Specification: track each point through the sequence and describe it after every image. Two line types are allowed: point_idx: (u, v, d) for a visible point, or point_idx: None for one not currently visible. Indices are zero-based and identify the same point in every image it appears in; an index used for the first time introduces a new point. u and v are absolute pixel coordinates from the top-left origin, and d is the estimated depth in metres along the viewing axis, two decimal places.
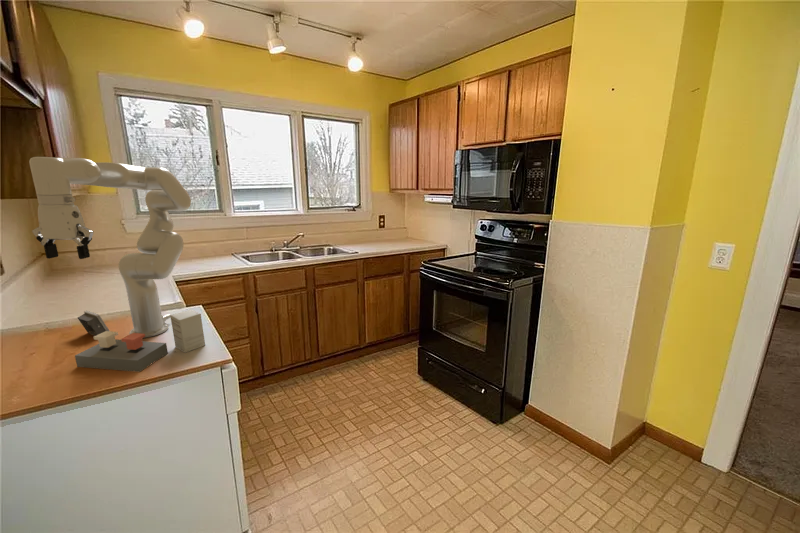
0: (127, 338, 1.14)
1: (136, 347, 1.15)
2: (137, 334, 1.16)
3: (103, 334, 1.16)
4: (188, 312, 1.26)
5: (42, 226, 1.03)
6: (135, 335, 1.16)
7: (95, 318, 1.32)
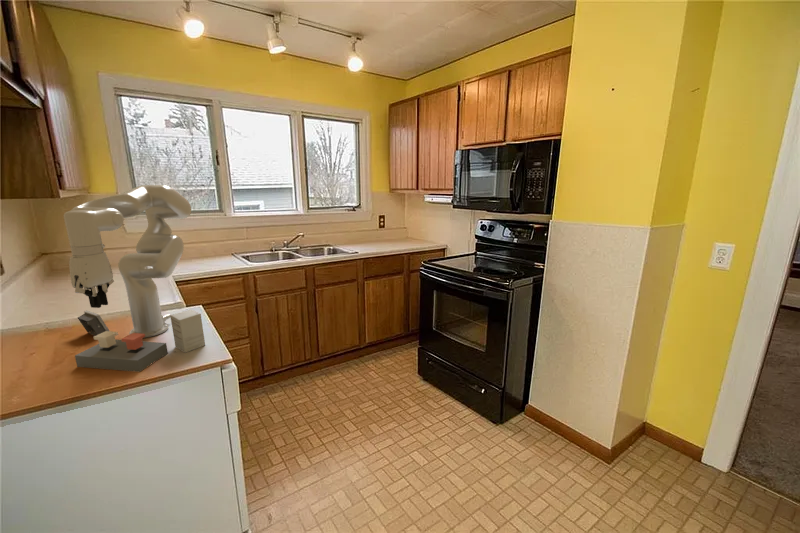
0: (127, 338, 1.14)
1: (136, 347, 1.15)
2: (137, 334, 1.16)
3: (103, 334, 1.16)
4: (188, 312, 1.26)
5: (88, 276, 1.07)
6: (135, 335, 1.16)
7: (95, 318, 1.32)
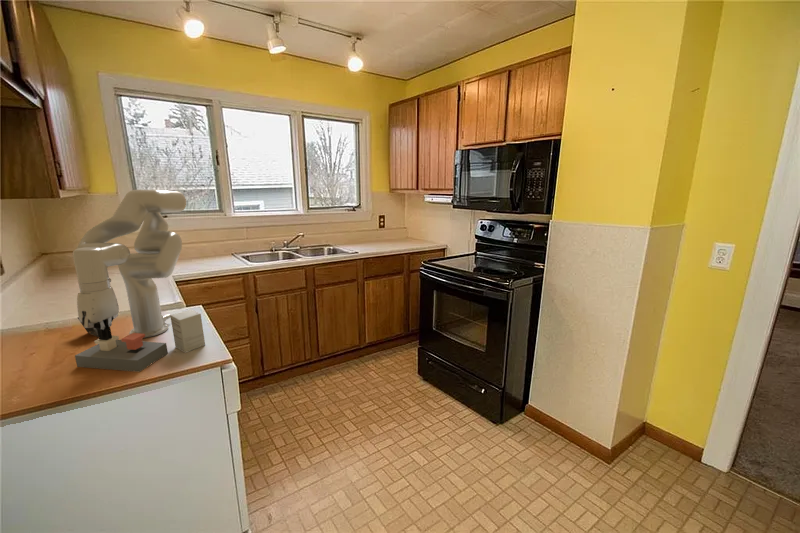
0: (127, 338, 1.14)
1: (136, 347, 1.15)
2: (137, 334, 1.16)
3: None
4: (188, 312, 1.26)
5: (95, 311, 1.10)
6: (135, 335, 1.16)
7: None
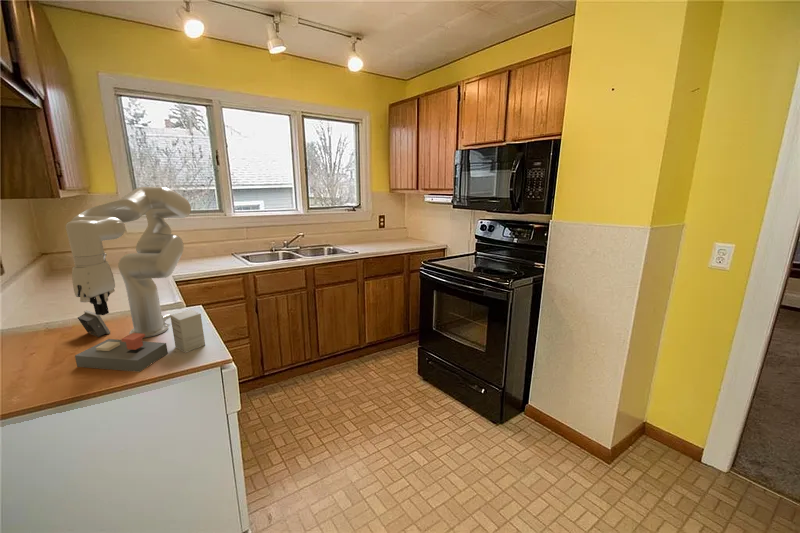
0: (127, 338, 1.14)
1: (136, 347, 1.15)
2: (137, 334, 1.16)
3: (106, 345, 1.17)
4: (188, 312, 1.26)
5: (90, 285, 1.08)
6: (135, 335, 1.16)
7: (95, 318, 1.32)
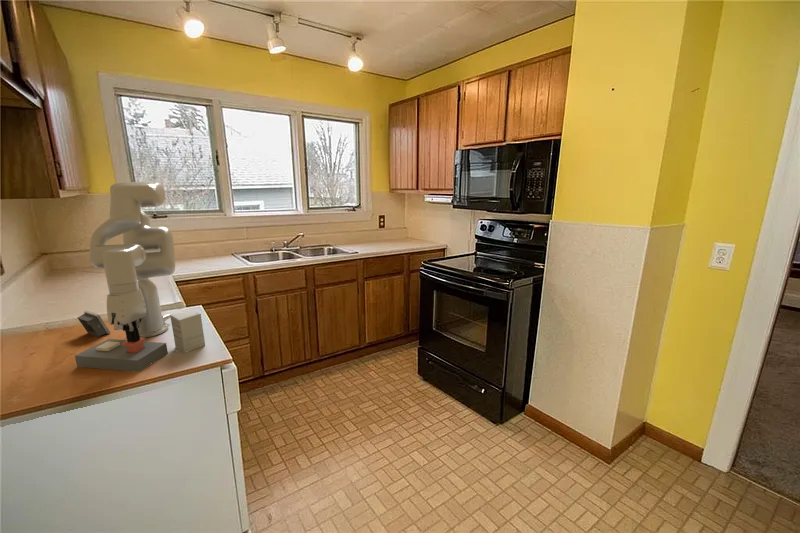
0: (128, 342, 1.14)
1: (137, 351, 1.15)
2: None
3: (106, 345, 1.17)
4: (188, 312, 1.26)
5: (124, 313, 1.09)
6: None
7: (95, 318, 1.32)
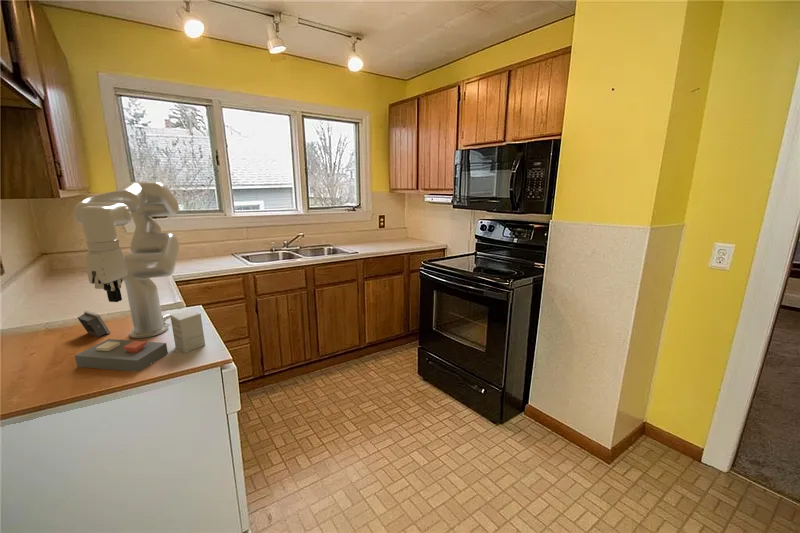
0: (129, 346, 1.14)
1: None
2: (139, 342, 1.17)
3: (106, 345, 1.17)
4: (188, 312, 1.26)
5: (105, 272, 1.08)
6: (136, 343, 1.17)
7: (95, 318, 1.32)
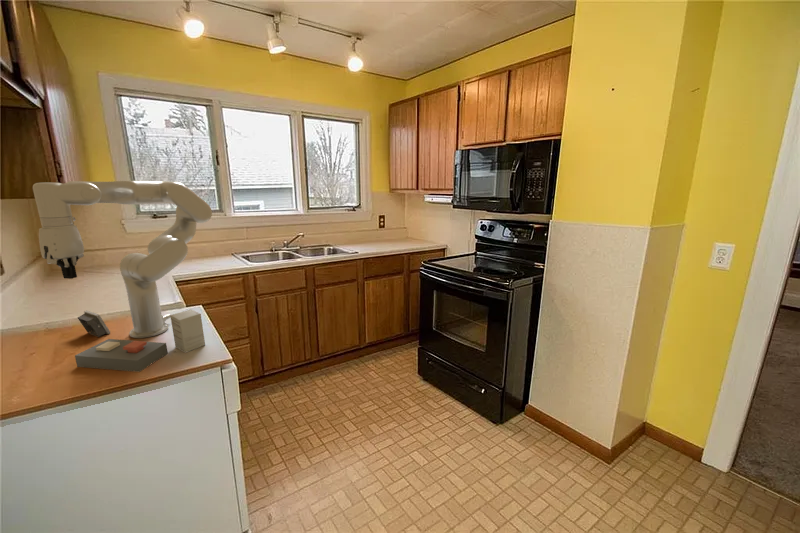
0: (129, 346, 1.14)
1: None
2: (139, 342, 1.17)
3: (106, 345, 1.17)
4: (188, 312, 1.26)
5: (57, 247, 1.09)
6: (136, 343, 1.17)
7: (95, 318, 1.32)
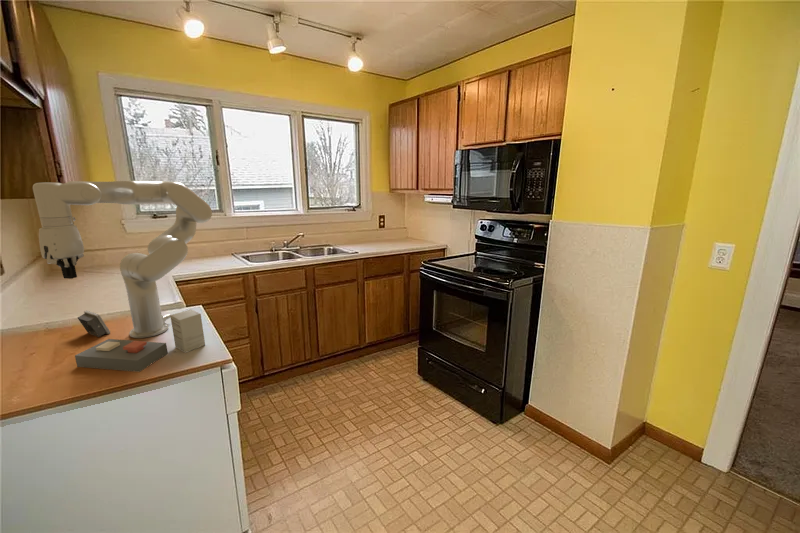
0: (129, 346, 1.14)
1: None
2: (139, 342, 1.17)
3: (106, 345, 1.17)
4: (188, 312, 1.26)
5: (57, 247, 1.09)
6: (136, 343, 1.17)
7: (95, 318, 1.32)
